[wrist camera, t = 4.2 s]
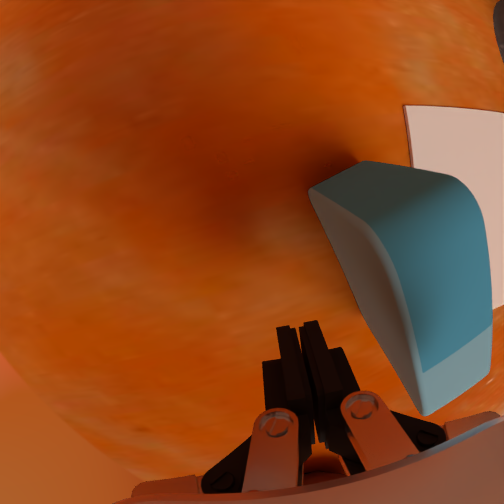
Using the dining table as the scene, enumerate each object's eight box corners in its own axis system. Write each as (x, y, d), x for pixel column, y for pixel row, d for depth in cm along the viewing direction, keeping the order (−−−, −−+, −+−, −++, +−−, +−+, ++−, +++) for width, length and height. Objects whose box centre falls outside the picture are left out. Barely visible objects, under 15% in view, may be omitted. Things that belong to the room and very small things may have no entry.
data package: (408, 292, 22) (490, 383, 11) (362, 318, 23) (426, 427, 12) (358, 158, 19) (477, 177, 7) (302, 186, 19) (375, 239, 8)
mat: (402, 106, 17) (405, 105, 17) (512, 114, 17) (515, 114, 16) (407, 338, 24) (409, 340, 24) (504, 301, 23) (506, 303, 23)
